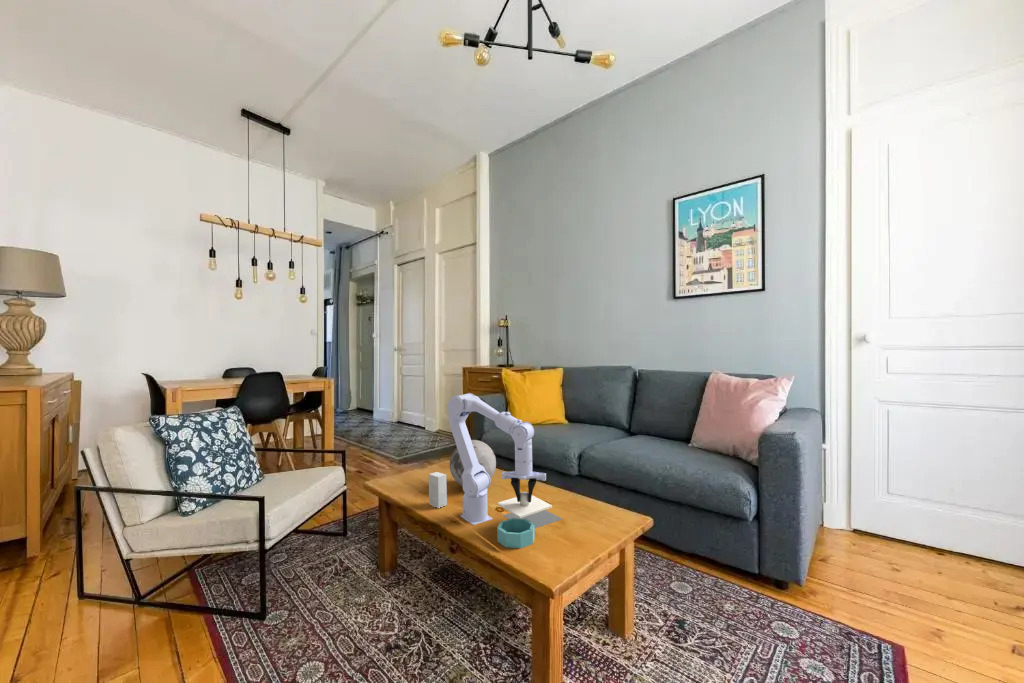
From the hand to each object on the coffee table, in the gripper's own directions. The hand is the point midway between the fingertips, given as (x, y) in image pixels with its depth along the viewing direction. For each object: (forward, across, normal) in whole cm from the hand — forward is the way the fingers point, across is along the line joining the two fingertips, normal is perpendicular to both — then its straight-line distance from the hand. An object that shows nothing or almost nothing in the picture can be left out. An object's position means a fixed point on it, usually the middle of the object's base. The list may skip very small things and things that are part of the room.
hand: (524, 501), depth 137 cm
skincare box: (+9, -36, +16) cm, 40 cm away
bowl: (+9, -2, -8) cm, 12 cm away
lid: (+2, 0, 0) cm, 2 cm away
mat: (+9, +2, +9) cm, 13 cm away
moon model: (+9, -28, +37) cm, 47 cm away
